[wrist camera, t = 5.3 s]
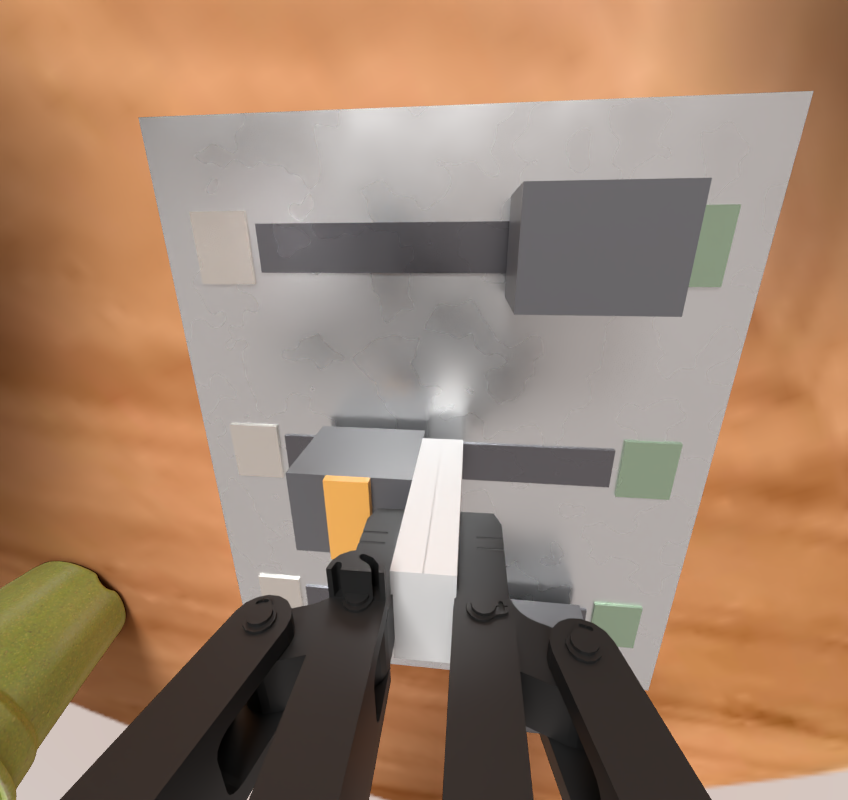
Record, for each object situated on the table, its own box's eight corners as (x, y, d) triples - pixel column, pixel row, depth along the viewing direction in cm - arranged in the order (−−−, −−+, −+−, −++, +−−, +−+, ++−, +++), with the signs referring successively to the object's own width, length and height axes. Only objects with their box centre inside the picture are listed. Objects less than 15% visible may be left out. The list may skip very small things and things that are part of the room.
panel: (269, 617, 24) (251, 651, 22) (178, 131, 15) (135, 116, 13) (633, 652, 22) (649, 692, 20) (766, 111, 13) (816, 89, 11)
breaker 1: (329, 491, 17) (293, 556, 14) (323, 425, 16) (281, 477, 13) (425, 497, 17) (412, 565, 13) (425, 430, 16) (410, 485, 12)
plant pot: (162, 667, 27) (29, 850, 19) (25, 639, 27) (-161, 805, 19) (145, 552, 23) (-28, 718, 15) (-12, 522, 24) (-258, 667, 16)
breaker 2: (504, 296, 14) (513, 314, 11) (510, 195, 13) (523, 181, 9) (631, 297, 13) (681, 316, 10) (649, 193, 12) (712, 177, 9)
